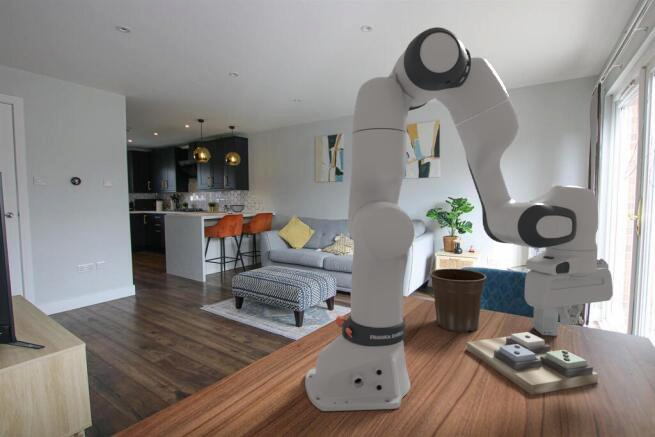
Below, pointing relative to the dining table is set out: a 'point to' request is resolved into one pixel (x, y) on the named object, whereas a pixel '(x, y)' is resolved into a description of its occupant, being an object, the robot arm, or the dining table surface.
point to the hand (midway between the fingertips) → (568, 323)
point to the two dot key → (517, 353)
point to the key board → (531, 367)
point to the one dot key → (528, 339)
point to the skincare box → (546, 321)
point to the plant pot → (457, 298)
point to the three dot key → (566, 359)
